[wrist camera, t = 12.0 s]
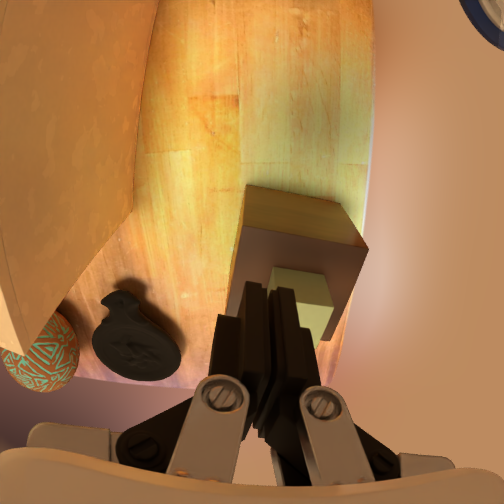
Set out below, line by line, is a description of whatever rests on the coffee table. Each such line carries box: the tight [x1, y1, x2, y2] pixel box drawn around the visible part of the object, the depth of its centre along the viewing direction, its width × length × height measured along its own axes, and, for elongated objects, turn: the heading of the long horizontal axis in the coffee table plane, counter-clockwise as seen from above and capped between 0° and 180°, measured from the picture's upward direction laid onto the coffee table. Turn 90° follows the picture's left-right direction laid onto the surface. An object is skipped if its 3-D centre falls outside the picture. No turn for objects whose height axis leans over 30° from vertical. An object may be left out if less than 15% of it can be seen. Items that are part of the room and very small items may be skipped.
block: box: [267, 267, 334, 349], centre depth 29 cm, size 5×5×5 cm
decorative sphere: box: [0, 311, 80, 392], centre depth 44 cm, size 15×15×15 cm
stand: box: [225, 185, 369, 341], centre depth 37 cm, size 12×12×12 cm
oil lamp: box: [92, 290, 181, 381], centre depth 48 cm, size 15×20×5 cm
